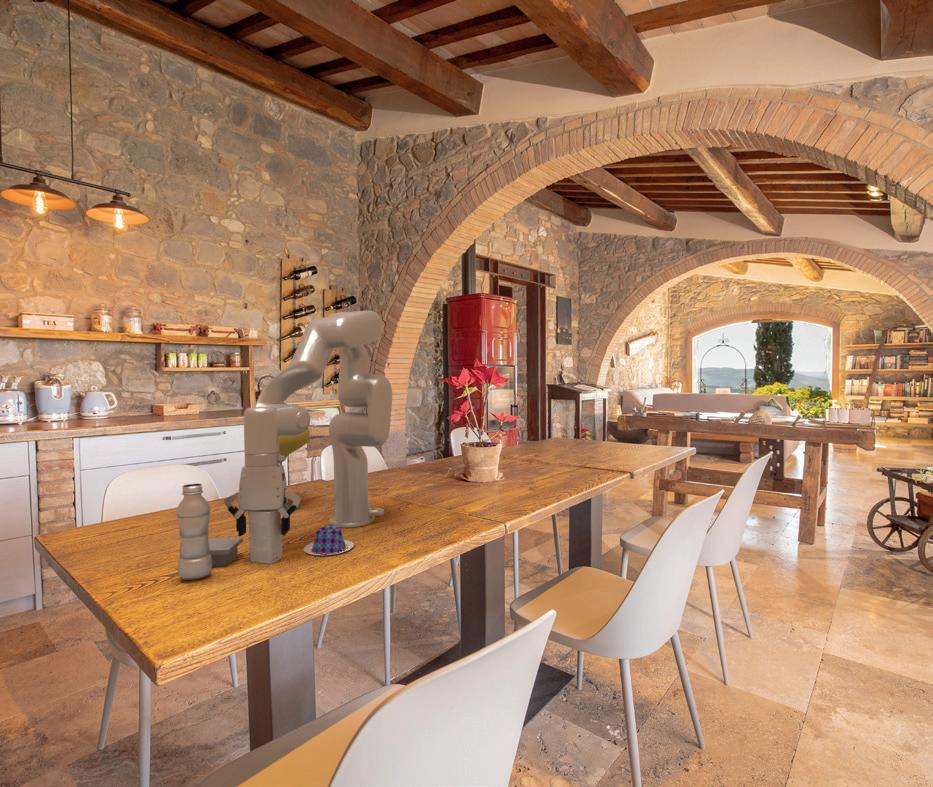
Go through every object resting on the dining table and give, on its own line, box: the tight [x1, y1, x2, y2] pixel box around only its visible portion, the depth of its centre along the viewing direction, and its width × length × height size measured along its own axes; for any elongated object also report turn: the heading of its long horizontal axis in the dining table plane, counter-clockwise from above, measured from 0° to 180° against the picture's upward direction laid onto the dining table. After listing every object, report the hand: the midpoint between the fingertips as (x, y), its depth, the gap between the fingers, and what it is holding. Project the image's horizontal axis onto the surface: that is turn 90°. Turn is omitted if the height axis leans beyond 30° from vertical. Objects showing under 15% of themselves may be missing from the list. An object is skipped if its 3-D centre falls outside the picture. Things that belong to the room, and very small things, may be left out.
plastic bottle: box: [175, 483, 213, 581], centre depth 117 cm, size 6×7×20 cm
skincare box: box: [247, 510, 283, 565], centre depth 127 cm, size 6×4×12 cm
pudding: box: [303, 525, 355, 556], centre depth 135 cm, size 12×12×5 cm
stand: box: [208, 536, 244, 567], centre depth 128 cm, size 10×9×4 cm
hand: (263, 534), depth 127 cm, fingers open, 9 cm apart
